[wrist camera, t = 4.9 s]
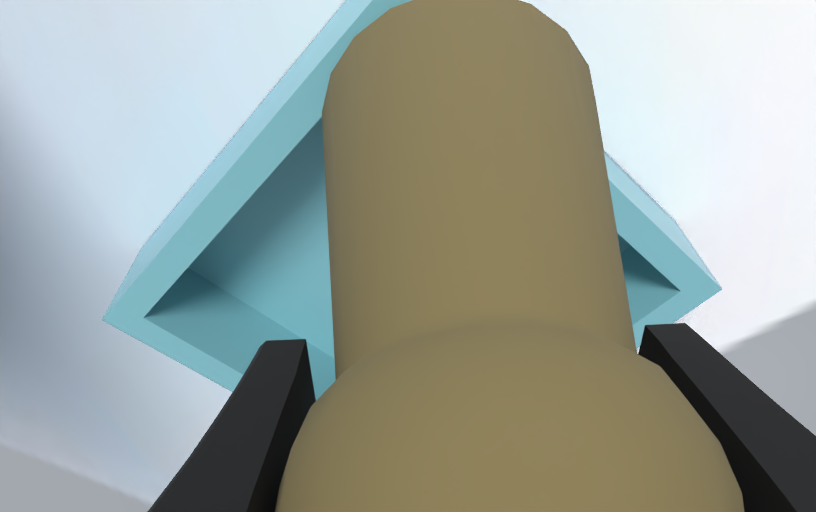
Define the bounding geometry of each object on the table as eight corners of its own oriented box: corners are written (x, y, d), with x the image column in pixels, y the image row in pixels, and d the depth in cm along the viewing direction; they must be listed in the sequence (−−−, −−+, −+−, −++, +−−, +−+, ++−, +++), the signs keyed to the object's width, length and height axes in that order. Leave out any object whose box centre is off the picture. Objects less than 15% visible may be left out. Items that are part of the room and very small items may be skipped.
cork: (631, 173, 15) (890, 742, 7) (404, 266, 17) (398, 800, 9) (534, -72, 12) (817, 469, 4) (266, 77, 14) (47, 656, 6)
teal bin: (675, 221, 21) (722, 288, 18) (417, 418, 26) (421, 496, 23) (393, -58, 16) (395, -27, 13) (141, 248, 21) (101, 319, 18)
